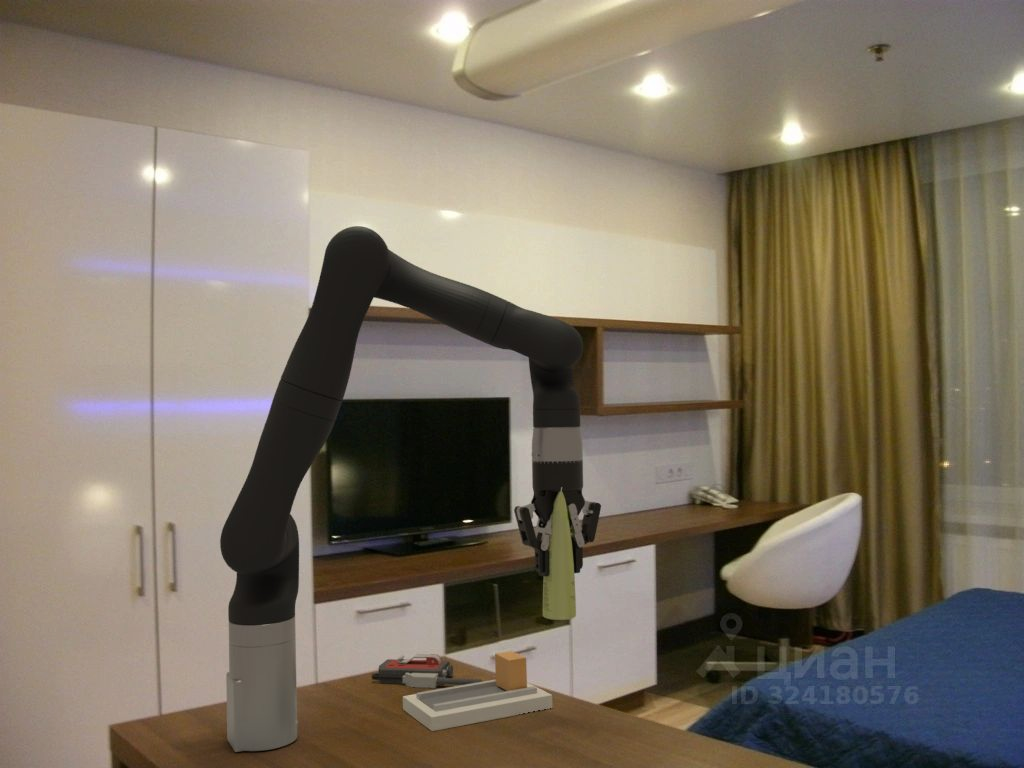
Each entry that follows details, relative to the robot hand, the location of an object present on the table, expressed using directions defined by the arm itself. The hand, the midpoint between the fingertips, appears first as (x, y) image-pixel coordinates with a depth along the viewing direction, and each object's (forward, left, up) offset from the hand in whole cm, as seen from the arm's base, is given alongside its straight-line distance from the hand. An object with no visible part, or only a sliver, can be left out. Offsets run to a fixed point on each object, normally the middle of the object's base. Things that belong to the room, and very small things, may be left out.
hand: (559, 573), depth 136 cm
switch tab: (-2, +13, -19) cm, 23 cm away
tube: (0, 0, -7) cm, 7 cm away
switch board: (-8, +13, -22) cm, 27 cm away
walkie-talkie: (-8, +31, -22) cm, 39 cm away
